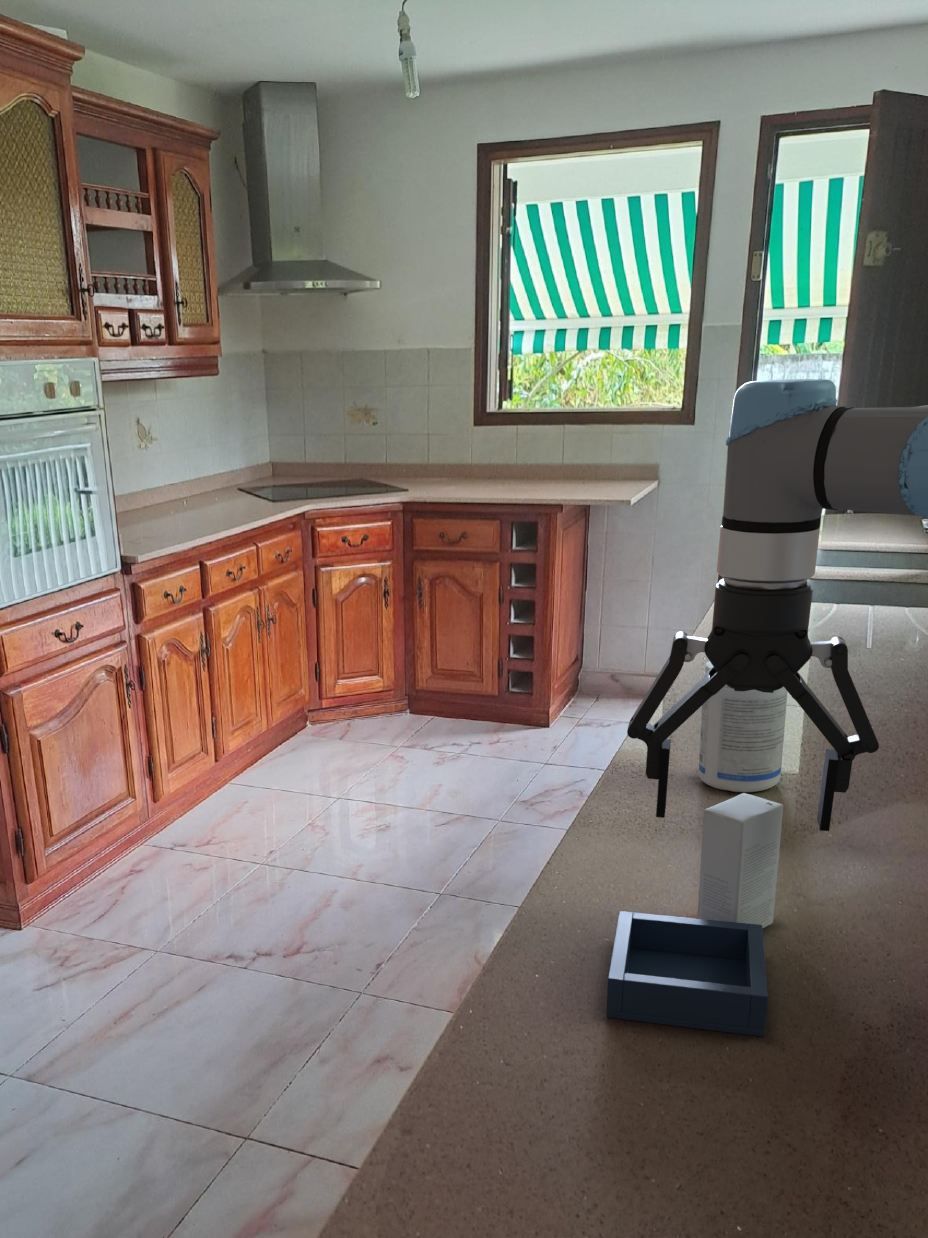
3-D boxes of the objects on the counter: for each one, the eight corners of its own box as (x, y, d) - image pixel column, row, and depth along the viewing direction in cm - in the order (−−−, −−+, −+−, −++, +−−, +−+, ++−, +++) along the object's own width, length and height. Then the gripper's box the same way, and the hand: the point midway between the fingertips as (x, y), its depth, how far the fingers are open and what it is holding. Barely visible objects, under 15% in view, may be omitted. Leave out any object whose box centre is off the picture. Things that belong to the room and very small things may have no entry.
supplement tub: (796, 782, 135) (808, 665, 130) (745, 801, 130) (756, 679, 125) (730, 762, 143) (739, 650, 138) (679, 779, 138) (687, 664, 133)
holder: (758, 961, 96) (762, 924, 95) (763, 1037, 86) (768, 996, 84) (617, 946, 100) (619, 910, 99) (606, 1017, 89) (607, 978, 88)
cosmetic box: (733, 908, 106) (744, 791, 101) (773, 924, 102) (786, 804, 98) (693, 928, 102) (702, 808, 98) (733, 946, 99) (744, 822, 95)
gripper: (925, 574, 91) (888, 813, 98) (612, 568, 98) (600, 792, 106) (941, 592, 84) (901, 848, 92) (604, 585, 91) (593, 822, 99)
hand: (740, 818), depth 99 cm, fingers open, 13 cm apart
